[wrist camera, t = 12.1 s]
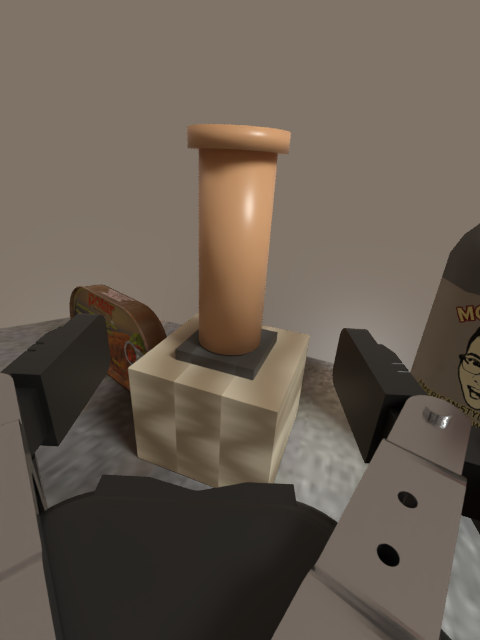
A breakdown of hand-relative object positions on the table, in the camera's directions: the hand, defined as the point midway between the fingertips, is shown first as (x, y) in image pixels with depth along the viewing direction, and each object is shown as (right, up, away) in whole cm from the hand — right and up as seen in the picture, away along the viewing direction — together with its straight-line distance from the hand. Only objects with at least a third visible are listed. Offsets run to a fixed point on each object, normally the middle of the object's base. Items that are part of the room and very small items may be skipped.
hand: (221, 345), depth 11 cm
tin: (-12, -4, +24) cm, 27 cm away
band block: (-1, -9, +16) cm, 18 cm away
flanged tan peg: (-1, -8, +16) cm, 17 cm away
